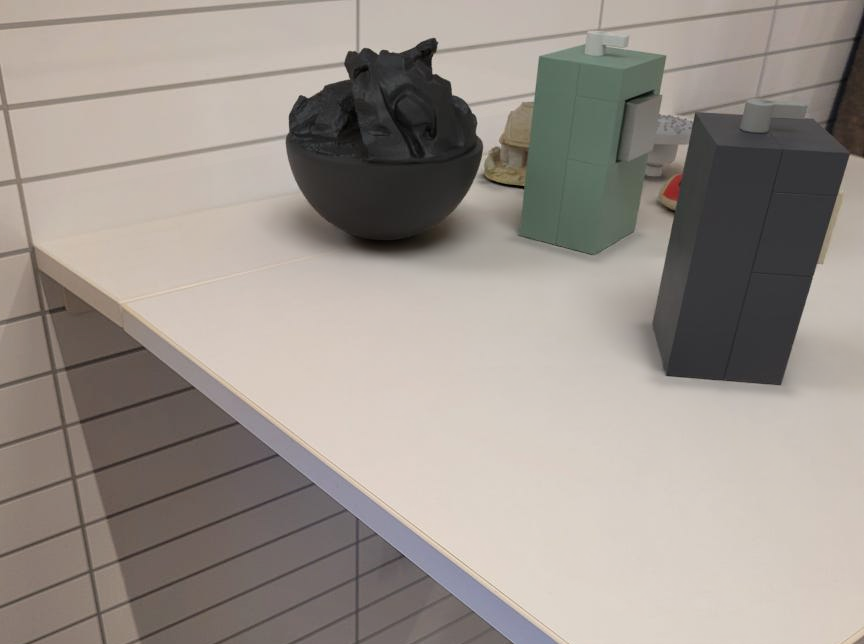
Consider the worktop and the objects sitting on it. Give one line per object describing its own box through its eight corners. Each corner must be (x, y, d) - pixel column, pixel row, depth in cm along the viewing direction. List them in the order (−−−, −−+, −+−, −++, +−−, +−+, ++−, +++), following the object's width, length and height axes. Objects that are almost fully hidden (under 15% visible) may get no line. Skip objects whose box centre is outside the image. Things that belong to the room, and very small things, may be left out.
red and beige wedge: (680, 194, 116) (686, 165, 114) (746, 217, 109) (754, 186, 107) (642, 203, 112) (648, 173, 110) (709, 227, 106) (716, 195, 104)
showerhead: (645, 127, 114) (614, 107, 122) (634, 187, 118) (605, 164, 126) (717, 126, 115) (682, 107, 123) (704, 185, 119) (671, 163, 127)
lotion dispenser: (755, 331, 83) (821, 91, 72) (781, 385, 75) (859, 122, 63) (651, 324, 84) (700, 84, 72) (666, 375, 75) (723, 114, 64)
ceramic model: (596, 173, 122) (609, 92, 117) (593, 199, 113) (606, 112, 108) (489, 163, 125) (496, 83, 119) (477, 188, 116) (484, 102, 110)
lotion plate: (803, 237, 76) (823, 169, 73) (823, 264, 71) (844, 193, 68) (786, 236, 76) (804, 168, 73) (804, 263, 71) (824, 191, 68)
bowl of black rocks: (328, 281, 90) (328, 69, 79) (263, 216, 105) (255, 31, 94) (510, 255, 97) (531, 58, 86) (424, 198, 112) (433, 24, 101)
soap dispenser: (634, 230, 104) (670, 33, 93) (594, 255, 97) (627, 45, 86) (562, 213, 109) (588, 22, 97) (518, 235, 102) (541, 33, 91)
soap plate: (652, 150, 97) (662, 94, 94) (627, 162, 93) (637, 104, 90) (640, 147, 98) (649, 92, 95) (614, 159, 94) (624, 102, 91)
